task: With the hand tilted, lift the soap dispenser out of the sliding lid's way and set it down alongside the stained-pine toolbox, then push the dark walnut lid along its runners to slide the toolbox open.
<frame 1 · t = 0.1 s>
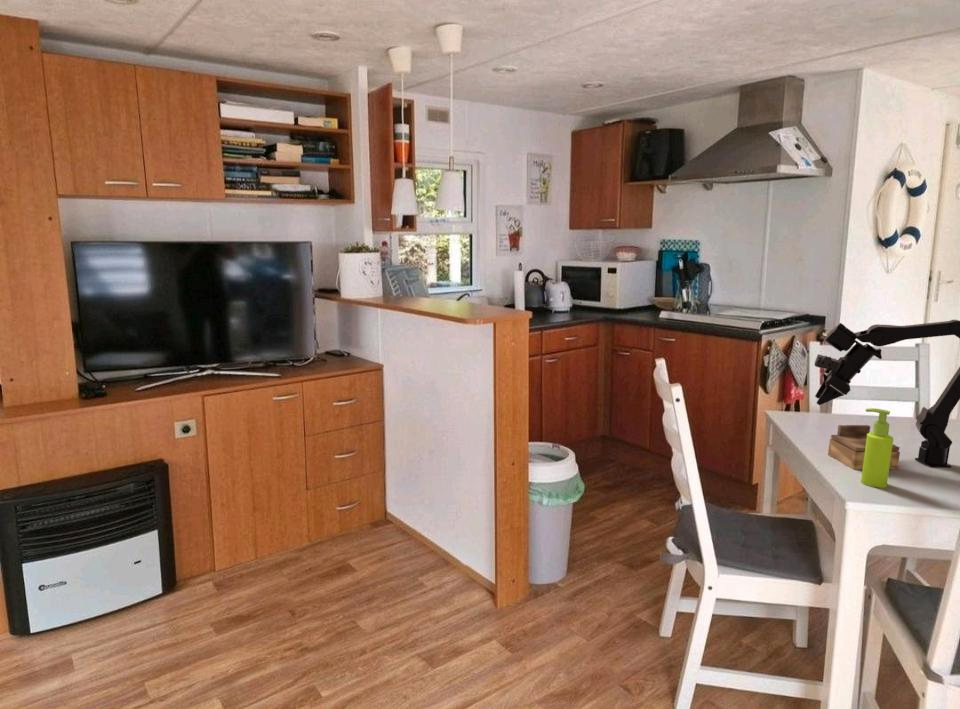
hand: (817, 400, 195), 15 cm above the table, tool tilted 35°, fingers open, 9 cm apart
toolbox: (861, 461, 186), on the table
toolbox lid: (864, 437, 185), point 7 cm above the table, slide at 0.0 cm
soap dispenser: (871, 483, 170), on the table
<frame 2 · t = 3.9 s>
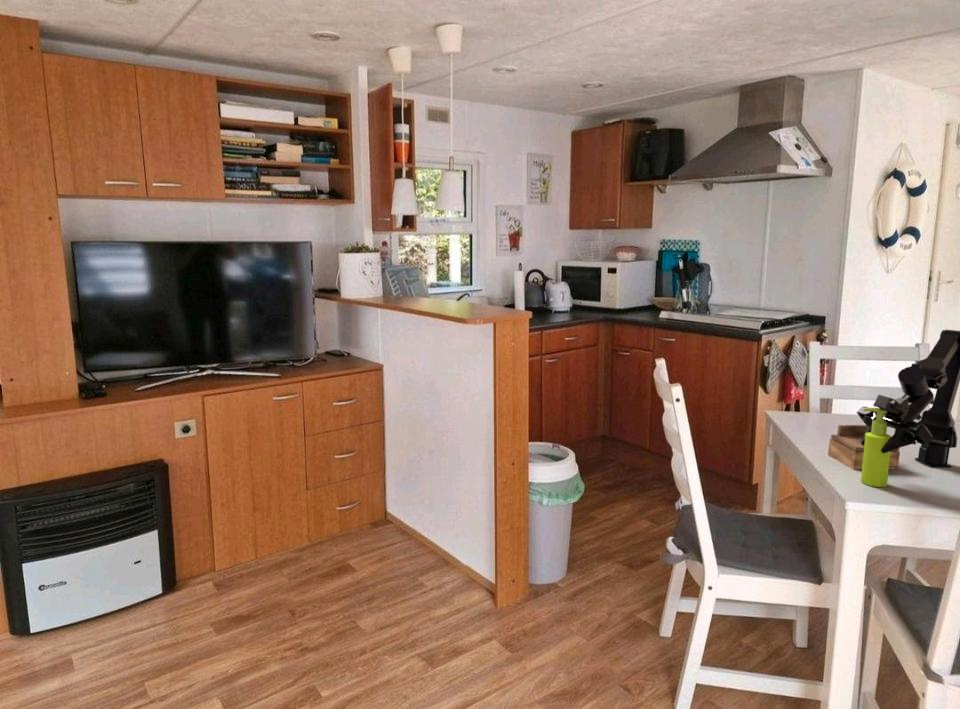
hand: (872, 448, 168), 10 cm above the table, tool tilted 45°, fingers closed on soap dispenser, 6 cm apart
soap dispenser: (871, 483, 170), on the table, touching gripper
everything else where it was.
when the fingers open (11 cm above the table, at t = 7.4 s): soap dispenser drops 1 cm, on the table.
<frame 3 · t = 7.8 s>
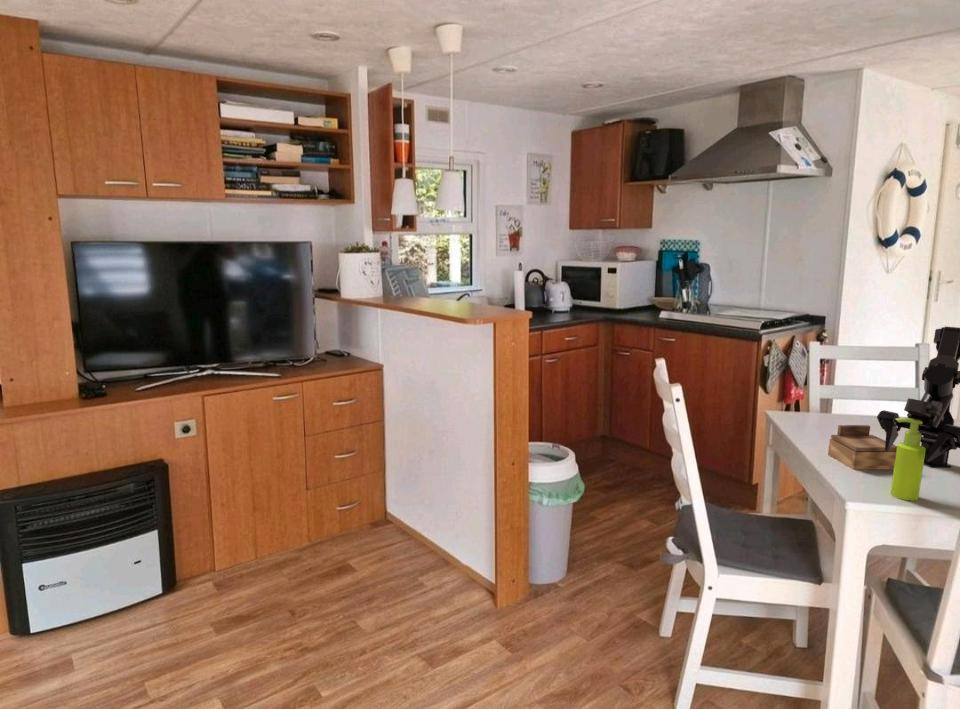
hand: (906, 455, 158), 11 cm above the table, tool tilted 45°, fingers open, 9 cm apart
soap dispenser: (901, 496, 162), on the table
everything else where it was.
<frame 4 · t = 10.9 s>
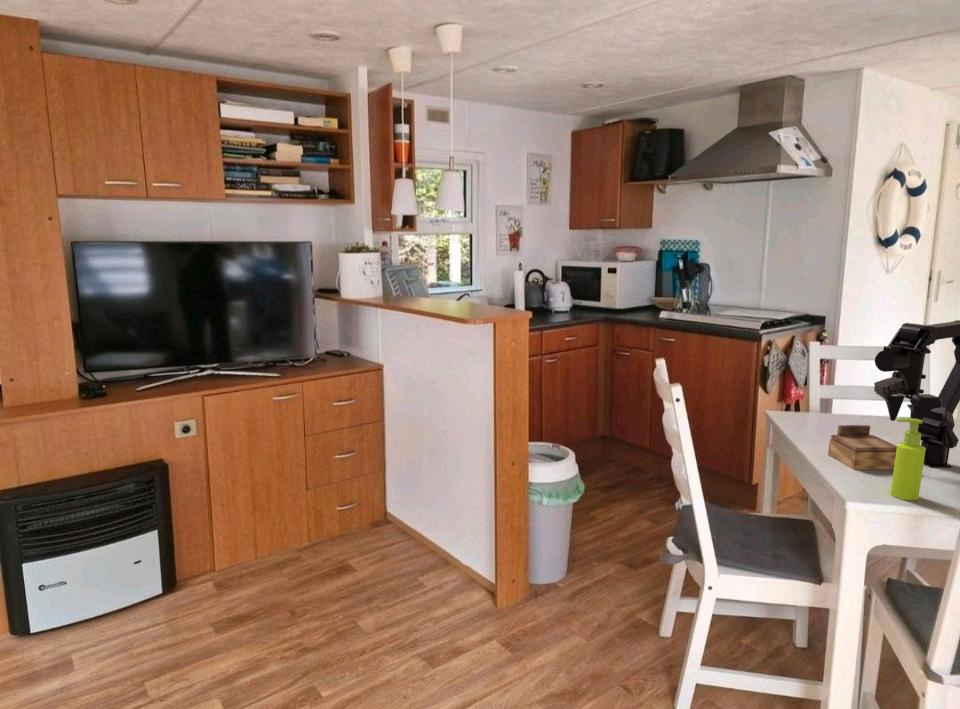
hand: (902, 424, 178), 13 cm above the table, tool pointing down, fingers open, 7 cm apart
nothing on the table moved.
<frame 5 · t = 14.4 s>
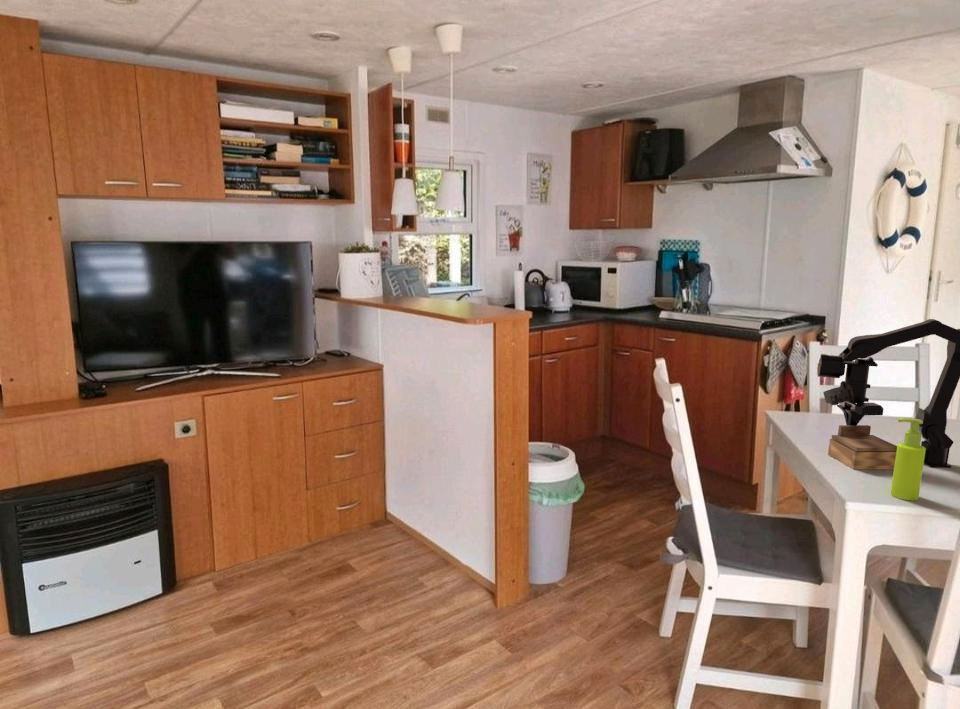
hand: (850, 430, 191), 7 cm above the table, tool pointing down, fingers closed
toolbox lid: (865, 437, 184), point 7 cm above the table, slide at 0.3 cm, touching gripper
everything else where it was.
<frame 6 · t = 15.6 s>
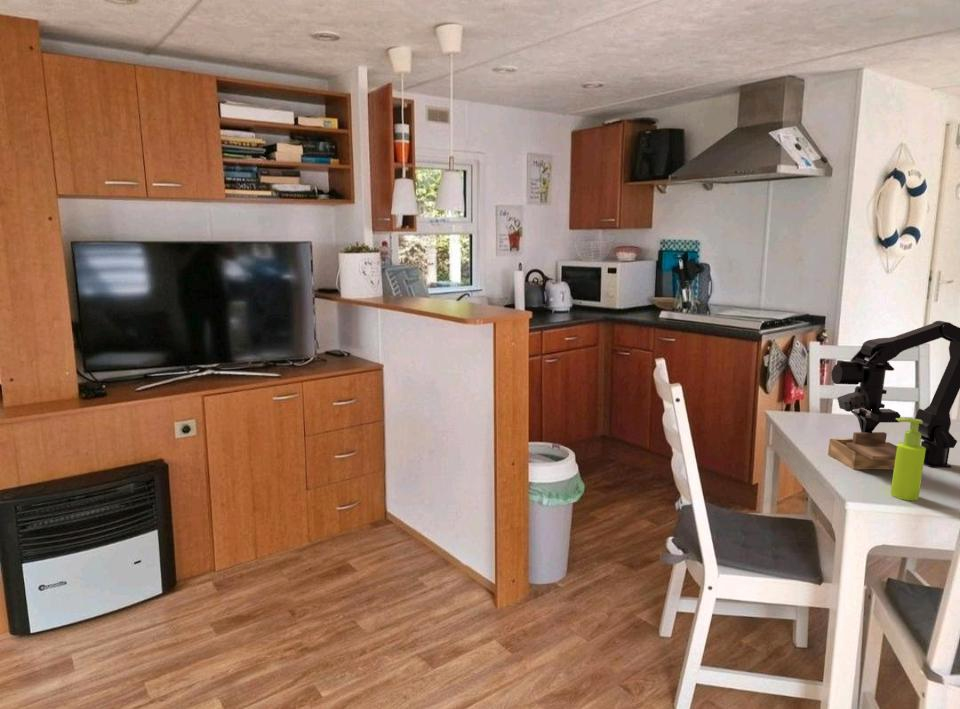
hand: (864, 437, 185), 7 cm above the table, tool pointing down, fingers closed
toolbox lid: (881, 445, 178), point 7 cm above the table, slide at 7.1 cm, touching gripper
everything else where it was.
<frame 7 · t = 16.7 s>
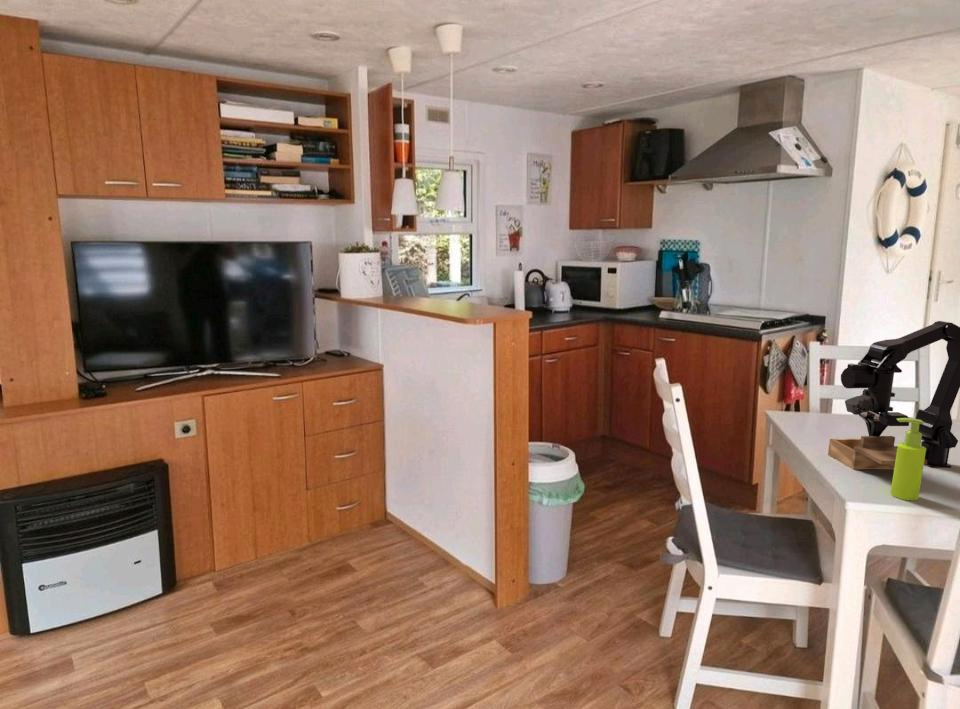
hand: (872, 441, 181), 7 cm above the table, tool pointing down, fingers closed
toolbox lid: (890, 449, 174), point 7 cm above the table, slide at 10.6 cm, touching gripper
everything else where it was.
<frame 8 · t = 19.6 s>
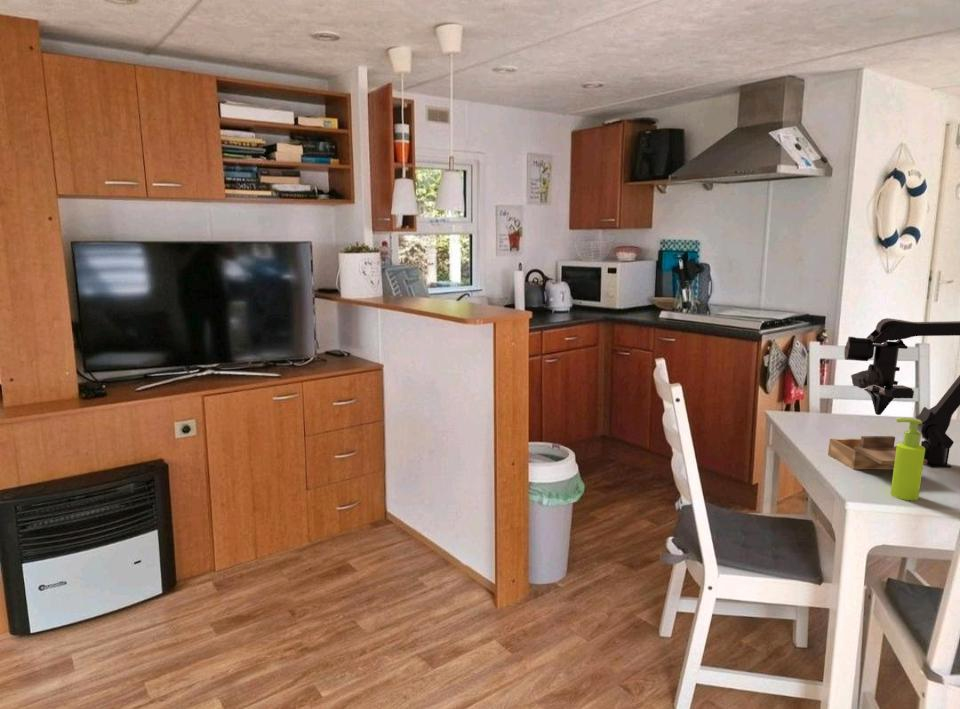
hand: (878, 414, 188), 13 cm above the table, tool pointing down, fingers closed
toolbox lid: (890, 449, 174), point 7 cm above the table, slide at 10.6 cm
everything else where it was.
at the end: toolbox lid slide at 10.6 cm; soap dispenser inside the target area (0.5 cm from its centre), on the table; soap dispenser tilted 0° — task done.
